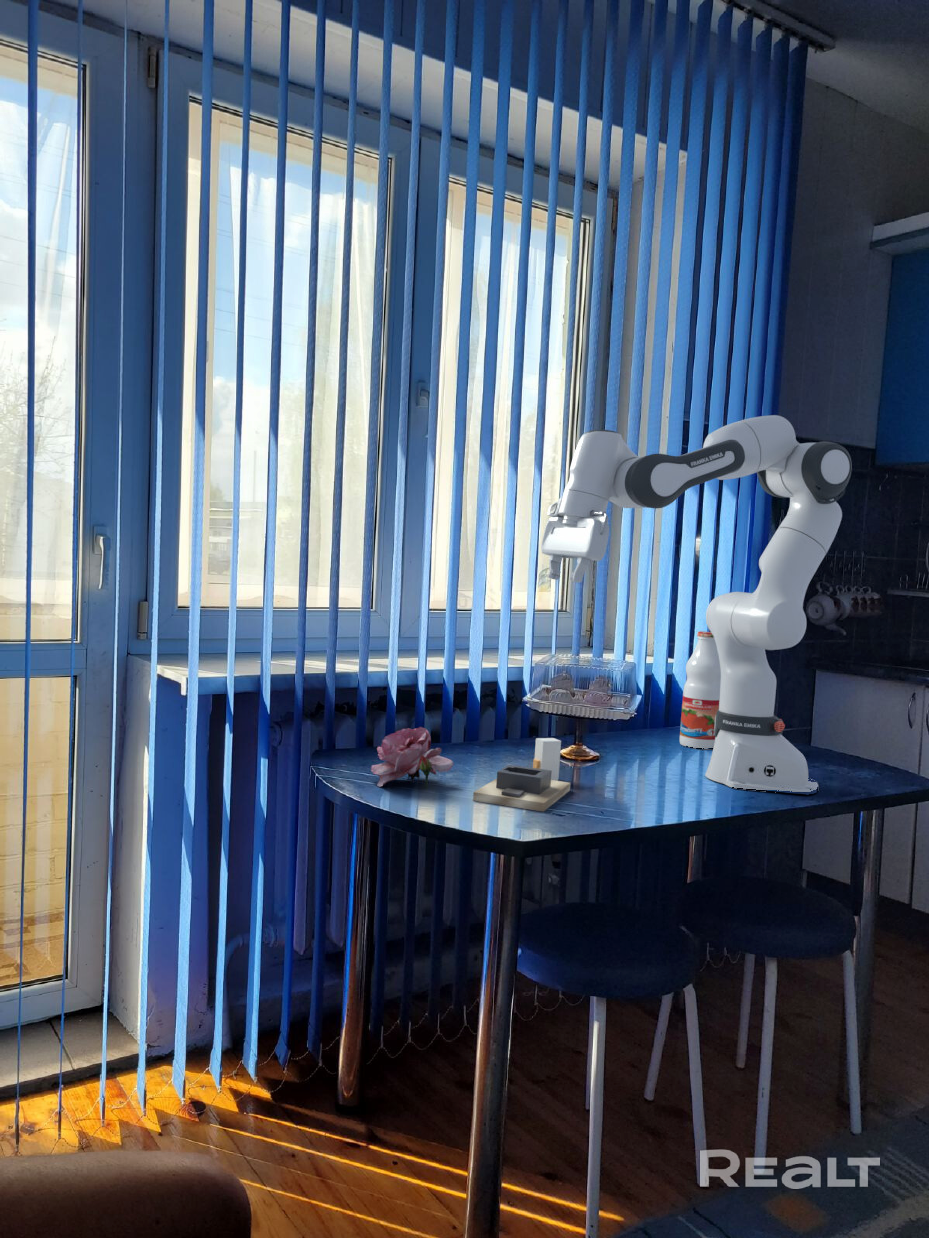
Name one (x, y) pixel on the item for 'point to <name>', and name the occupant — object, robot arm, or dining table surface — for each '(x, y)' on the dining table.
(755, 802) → the dining table surface
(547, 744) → the plug
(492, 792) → the board
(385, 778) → the flower
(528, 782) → the box
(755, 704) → the robot arm
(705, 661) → the fruit juice
